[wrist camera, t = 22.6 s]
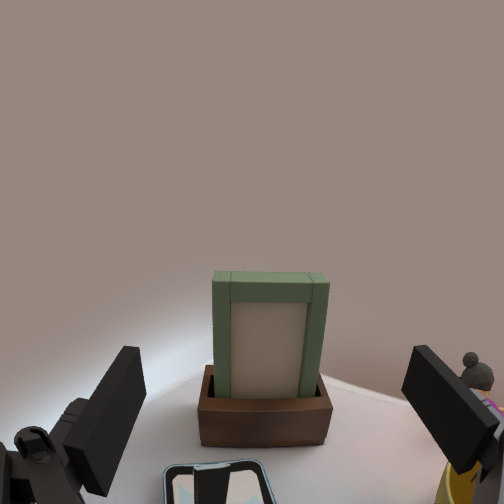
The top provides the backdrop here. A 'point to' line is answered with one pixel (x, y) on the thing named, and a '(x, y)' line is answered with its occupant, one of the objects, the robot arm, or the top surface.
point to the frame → (268, 333)
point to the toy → (478, 377)
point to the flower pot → (456, 486)
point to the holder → (262, 418)
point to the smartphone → (217, 483)
